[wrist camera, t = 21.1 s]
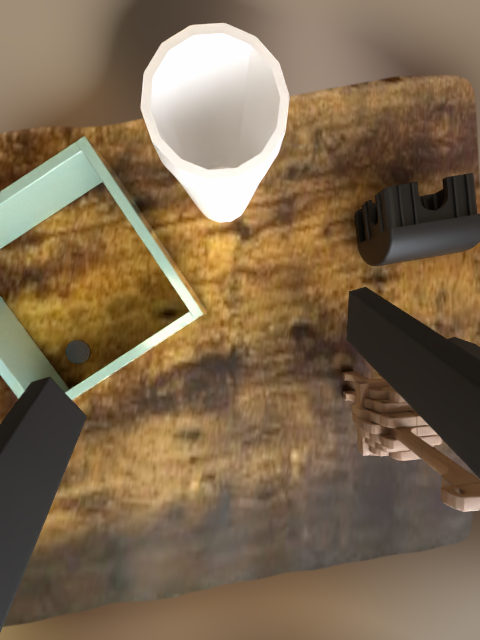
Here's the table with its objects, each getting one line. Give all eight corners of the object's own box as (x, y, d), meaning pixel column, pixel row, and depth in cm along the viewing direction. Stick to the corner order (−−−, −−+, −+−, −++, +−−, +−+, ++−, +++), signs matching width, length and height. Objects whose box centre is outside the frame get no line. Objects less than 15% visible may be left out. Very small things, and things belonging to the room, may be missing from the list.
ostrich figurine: (321, 412, 30) (451, 567, 13) (318, 360, 30) (449, 443, 12) (450, 400, 31) (752, 531, 13) (450, 348, 31) (760, 412, 13)
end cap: (357, 271, 29) (394, 261, 23) (349, 212, 29) (385, 184, 22) (435, 257, 30) (496, 244, 23) (429, 199, 29) (489, 167, 23)
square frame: (69, 402, 29) (36, 423, 24) (-36, 261, 28) (-94, 252, 23) (207, 312, 29) (203, 314, 24) (110, 165, 28) (84, 135, 23)
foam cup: (170, 218, 28) (120, 145, 15) (196, 140, 28) (167, -2, 15) (247, 247, 29) (260, 200, 16) (273, 171, 28) (310, 60, 15)
